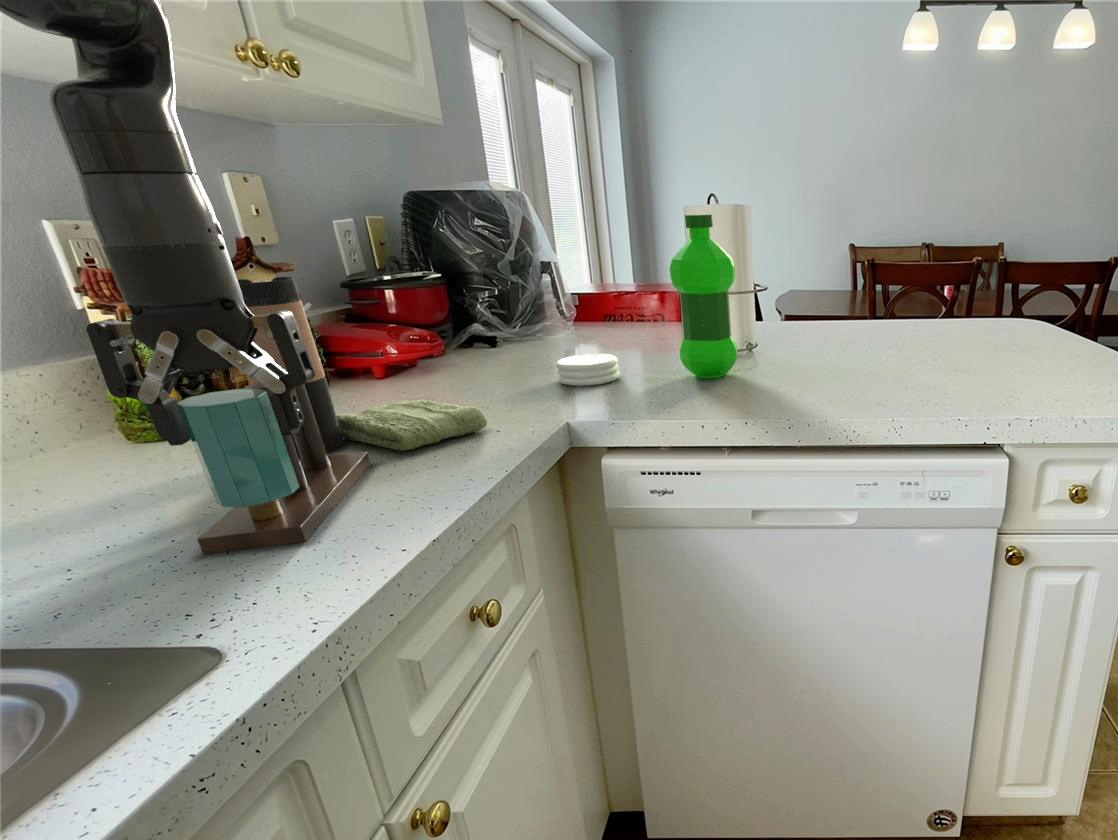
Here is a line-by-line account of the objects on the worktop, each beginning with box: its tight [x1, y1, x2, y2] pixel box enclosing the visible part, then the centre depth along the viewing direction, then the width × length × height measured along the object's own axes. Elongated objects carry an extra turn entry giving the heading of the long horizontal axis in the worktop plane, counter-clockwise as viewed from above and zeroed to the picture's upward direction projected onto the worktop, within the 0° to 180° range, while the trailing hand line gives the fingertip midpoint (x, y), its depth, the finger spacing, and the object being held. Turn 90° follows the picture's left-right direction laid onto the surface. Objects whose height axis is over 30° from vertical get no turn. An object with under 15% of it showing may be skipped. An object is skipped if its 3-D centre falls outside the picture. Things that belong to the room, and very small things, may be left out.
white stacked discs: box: [555, 353, 621, 387], centre depth 119 cm, size 10×10×4 cm
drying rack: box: [196, 369, 372, 555], centre depth 70 cm, size 8×22×12 cm, turn 15°
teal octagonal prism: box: [177, 388, 299, 508], centre depth 63 cm, size 6×6×9 cm
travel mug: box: [237, 276, 344, 458], centre depth 85 cm, size 8×8×20 cm
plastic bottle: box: [669, 214, 739, 379], centre depth 116 cm, size 10×10×25 cm
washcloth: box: [336, 399, 488, 452], centre depth 93 cm, size 13×18×3 cm
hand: (238, 438), depth 62 cm, fingers open, 8 cm apart
